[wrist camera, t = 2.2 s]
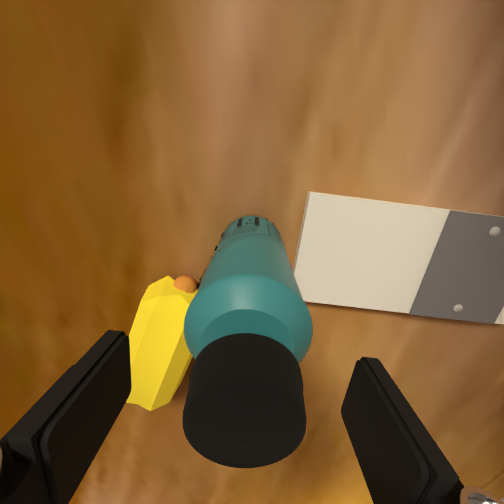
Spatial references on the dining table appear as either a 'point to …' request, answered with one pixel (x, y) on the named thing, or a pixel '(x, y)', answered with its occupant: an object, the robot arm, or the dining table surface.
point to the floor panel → (401, 258)
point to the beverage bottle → (247, 351)
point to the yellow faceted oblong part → (160, 342)
